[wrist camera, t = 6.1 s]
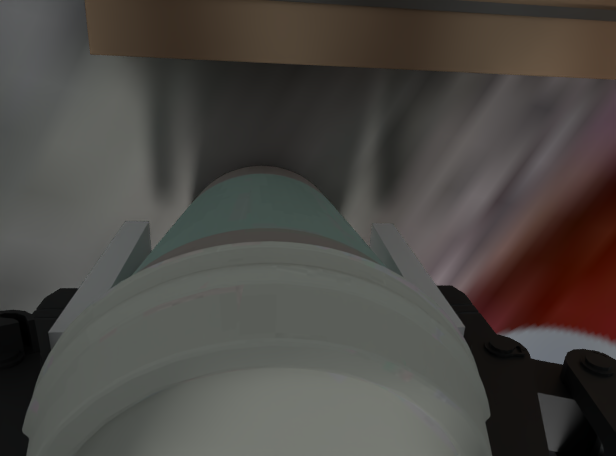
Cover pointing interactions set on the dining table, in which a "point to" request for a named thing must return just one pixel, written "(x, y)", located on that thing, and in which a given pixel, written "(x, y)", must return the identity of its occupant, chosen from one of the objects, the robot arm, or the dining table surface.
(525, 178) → the dining table surface
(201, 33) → the board
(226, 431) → the coffee cup
